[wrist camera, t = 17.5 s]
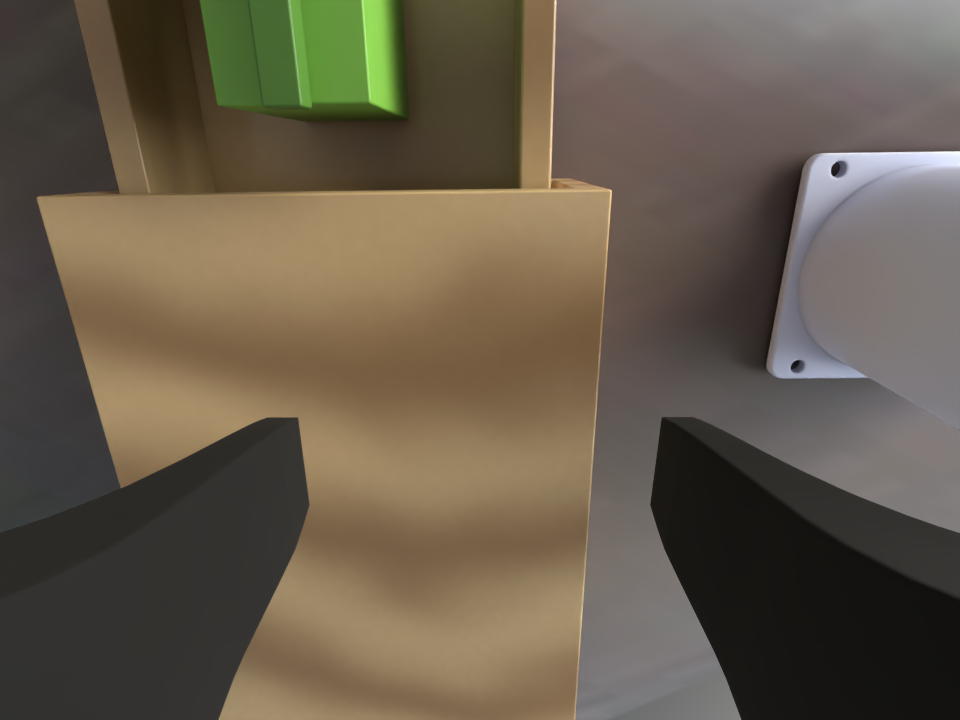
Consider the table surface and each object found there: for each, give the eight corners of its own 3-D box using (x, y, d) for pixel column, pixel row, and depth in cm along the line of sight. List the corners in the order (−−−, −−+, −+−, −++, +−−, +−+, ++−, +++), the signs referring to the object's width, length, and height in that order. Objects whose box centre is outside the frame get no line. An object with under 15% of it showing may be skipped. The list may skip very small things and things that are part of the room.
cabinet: (182, 183, 19) (34, 196, 13) (571, 178, 19) (612, 189, 13) (264, 597, 26) (192, 738, 19) (553, 598, 25) (573, 741, 19)
